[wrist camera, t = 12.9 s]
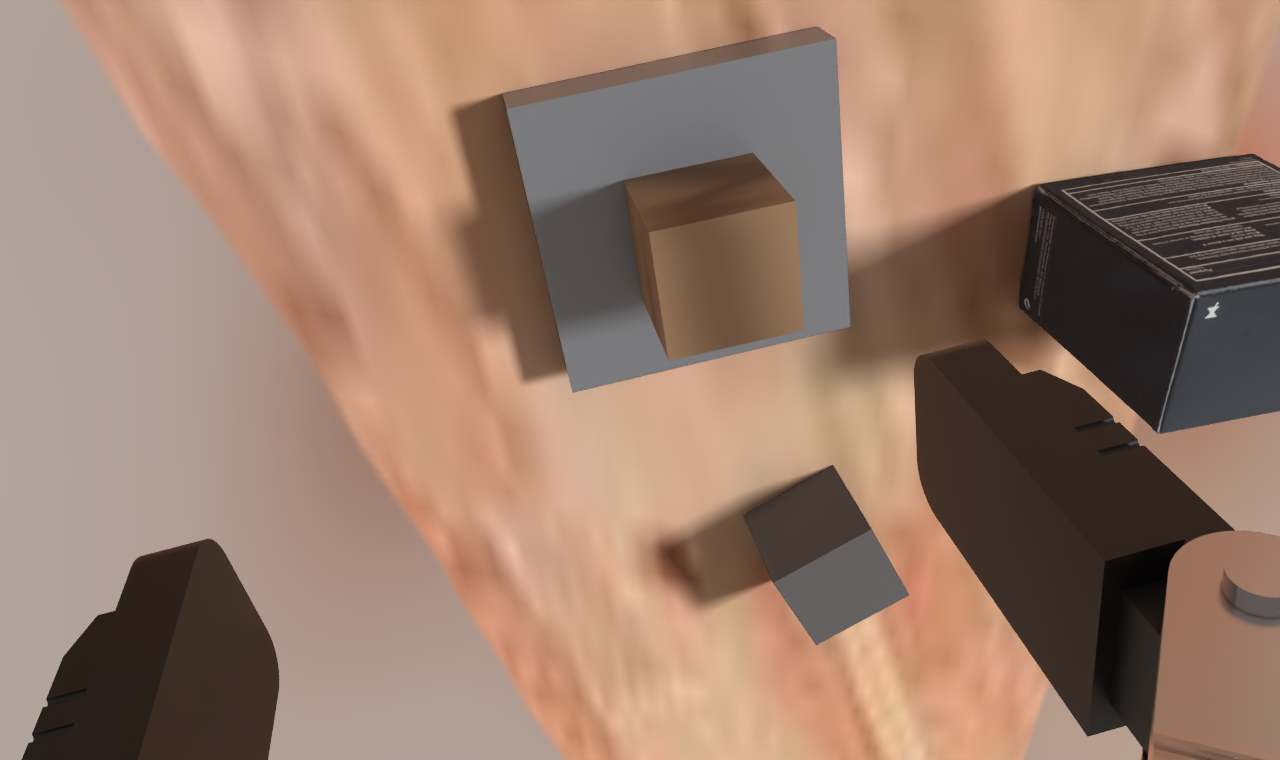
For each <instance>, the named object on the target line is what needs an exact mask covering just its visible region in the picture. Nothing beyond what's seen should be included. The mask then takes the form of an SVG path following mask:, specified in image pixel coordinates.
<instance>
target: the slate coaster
mask: <svg viewBox="0 0 1280 760" xmlns="http://www.w3.org/2000/svg"><path fill="white" fill-rule="evenodd" d="M503 98H504V102H505V107H506V111H507V115H508V119H509V124H510V128H511V132H512V137H513V141H514V145H515V149H516V154H517V158H518V162H519V167H520V171H521V175H522V179H523V184H524V188H525V192H526V197H527V201H528V205H529V209H530V214H531V218H532V222H533V227H534V231H535V235H536V239H537V244H538V248H539V252H540V257H541V261H542V265H543V269H544V274H545V278H546V282H547V287H548V291H549V295H550V299H551V304H552V308H553V312H554V317H555V321H556V325H557V329H558V334H559V338H560V342H561V347H562V351H563V355H564V359H565V364H566V368H567V372H568V376H569V380H570V384H571V388H572V392H578V391H582V390H586V389H590V388H595V387H599V386H603V385H607V384H611V383H616V382H620V381H624V380H628V379H632V378H637V377H641V376H645V375H649V374H654V373H658V372H662V371H666V370H670V369H675V368H679V367H683V366H687V365H692V364H696V363H700V362H704V361H708V360H713V359H717V358H721V357H725V356H729V355H734V354H738V353H742V352H746V351H751V350H755V349H759V348H763V347H767V346H772V345H776V344H780V343H784V342H789V341H793V340H797V339H801V338H805V337H810V336H814V335H818V334H822V333H826V332H831V331H835V330H839V329H843V328H848V327H850V307H849V286H848V266H847V246H846V226H845V206H844V186H843V166H842V146H841V126H840V105H839V85H838V65H837V45H836V38H835V37H833V36H831V35H830V34H828V33H827V32H825V31H824V30H822V29H821V28H819V27H813V28H808V29H803V30H799V31H794V32H789V33H785V34H780V35H775V36H771V37H766V38H761V39H757V40H752V41H747V42H742V43H738V44H733V45H728V46H724V47H719V48H714V49H710V50H705V51H700V52H696V53H691V54H686V55H681V56H677V57H672V58H667V59H663V60H658V61H653V62H649V63H644V64H639V65H635V66H630V67H625V68H621V69H616V70H611V71H606V72H602V73H597V74H592V75H588V76H583V77H578V78H574V79H569V80H564V81H560V82H555V83H550V84H545V85H541V86H536V87H531V88H527V89H522V90H517V91H513V92H508V93H503ZM749 153H754V154H755V155H756V156H757V158H758V159H759V160H760V161H761V162H762V163H763V164H764V166H765V167H766V168H767V169H768V170H769V171H770V172H771V174H772V175H773V176H774V177H775V178H776V179H777V180H778V182H779V183H780V184H781V185H782V186H783V187H784V188H785V190H786V191H787V192H788V193H789V194H790V195H791V196H792V198H793V199H794V200H795V201H796V216H797V231H798V246H799V261H800V276H801V292H802V307H803V322H804V331H799V332H795V333H790V334H786V335H782V336H777V337H773V338H768V339H764V340H759V341H755V342H751V343H746V344H742V345H737V346H733V347H729V348H724V349H720V350H715V351H711V352H706V353H702V354H698V355H693V356H689V357H684V358H680V359H675V360H671V361H668V358H667V356H666V354H665V351H664V349H663V347H662V344H661V342H660V339H659V337H658V335H657V332H656V330H655V328H654V325H653V323H652V321H651V318H650V316H649V313H648V311H647V309H646V306H645V304H644V302H643V299H642V294H641V288H640V282H639V276H638V270H637V264H636V258H635V252H634V246H633V239H632V233H631V227H630V221H629V215H628V209H627V203H626V197H625V191H624V185H623V180H626V179H631V178H635V177H640V176H645V175H650V174H654V173H659V172H664V171H668V170H673V169H678V168H683V167H687V166H692V165H697V164H702V163H706V162H711V161H716V160H721V159H725V158H730V157H735V156H740V155H744V154H749Z"/></svg>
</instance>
